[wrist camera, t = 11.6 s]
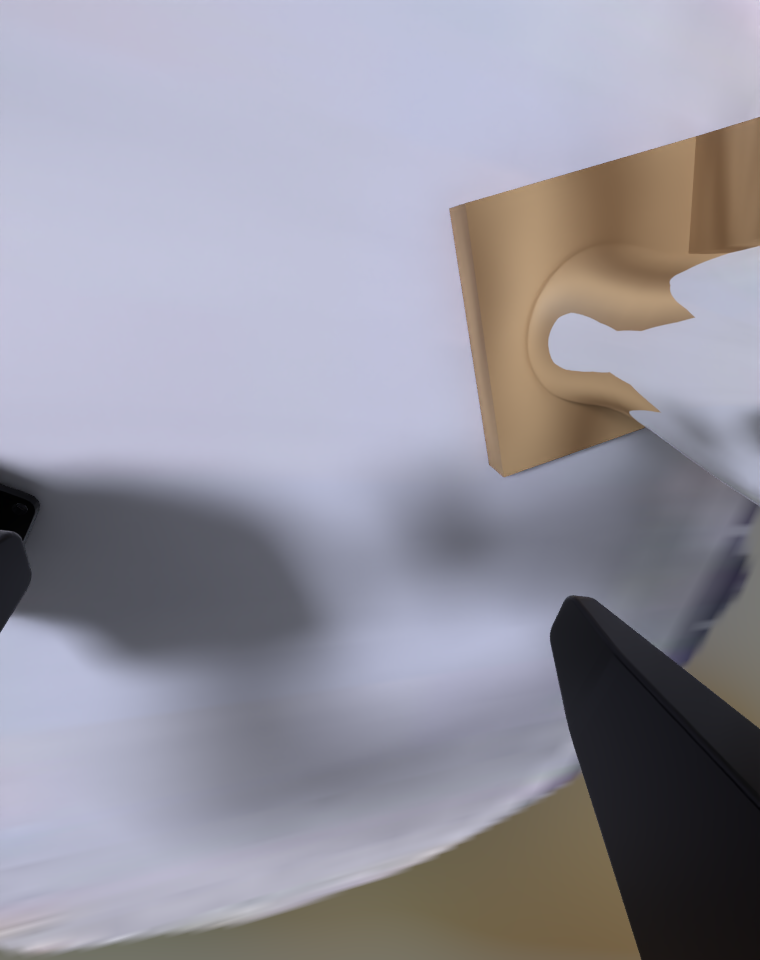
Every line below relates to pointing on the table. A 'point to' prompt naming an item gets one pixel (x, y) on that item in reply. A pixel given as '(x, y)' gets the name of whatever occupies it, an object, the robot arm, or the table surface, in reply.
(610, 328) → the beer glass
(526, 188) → the cleat board
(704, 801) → the robot arm
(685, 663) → the table surface
